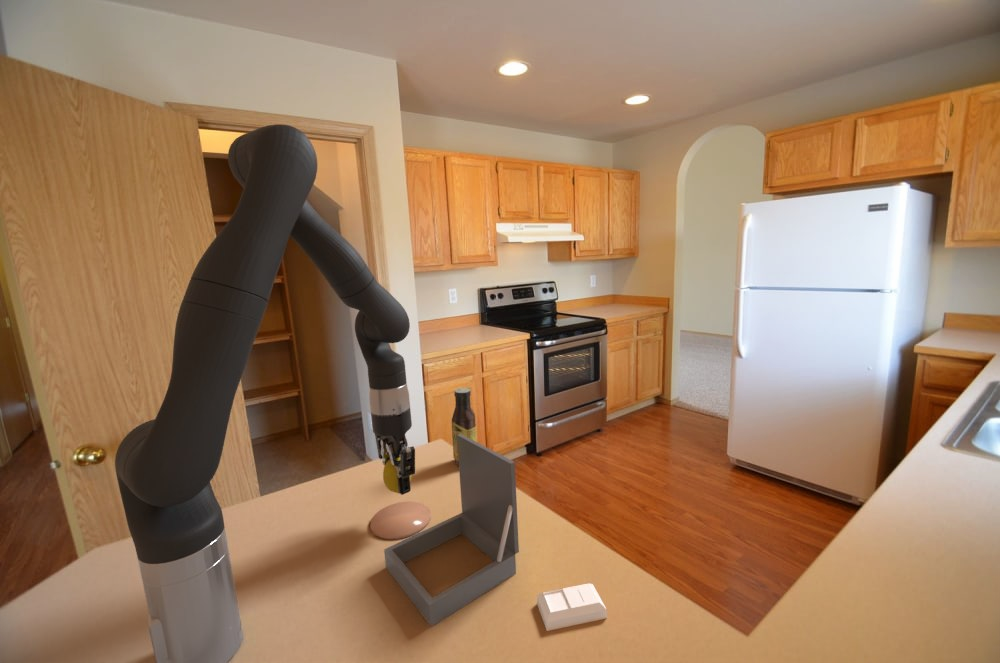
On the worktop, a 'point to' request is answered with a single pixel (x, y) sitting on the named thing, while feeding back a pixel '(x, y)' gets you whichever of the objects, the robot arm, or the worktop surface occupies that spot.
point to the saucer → (400, 520)
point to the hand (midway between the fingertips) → (398, 486)
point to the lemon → (391, 476)
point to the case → (467, 532)
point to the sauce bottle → (462, 419)
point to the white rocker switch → (570, 606)
